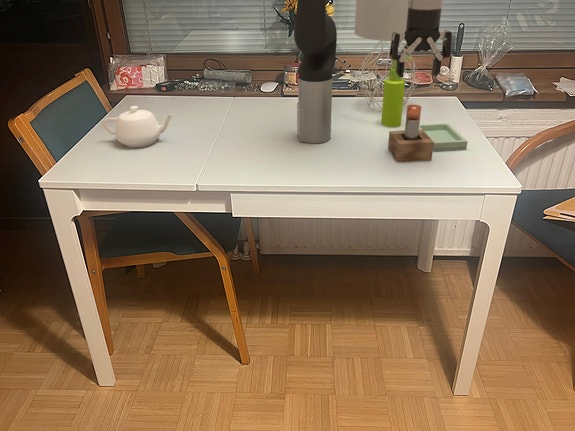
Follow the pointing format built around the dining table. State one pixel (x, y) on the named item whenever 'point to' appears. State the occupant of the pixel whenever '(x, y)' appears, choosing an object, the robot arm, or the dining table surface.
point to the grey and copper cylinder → (412, 122)
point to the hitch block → (410, 147)
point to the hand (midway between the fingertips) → (417, 76)
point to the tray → (444, 137)
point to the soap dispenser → (393, 98)
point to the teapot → (136, 127)
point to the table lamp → (381, 32)
